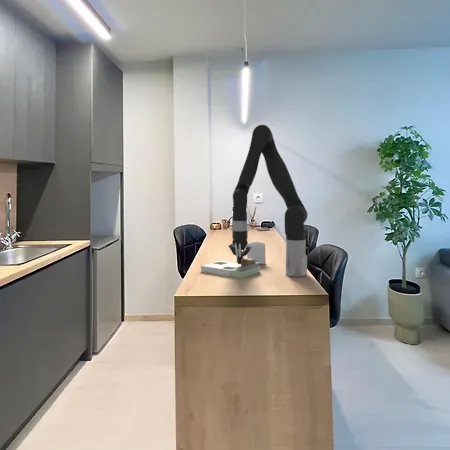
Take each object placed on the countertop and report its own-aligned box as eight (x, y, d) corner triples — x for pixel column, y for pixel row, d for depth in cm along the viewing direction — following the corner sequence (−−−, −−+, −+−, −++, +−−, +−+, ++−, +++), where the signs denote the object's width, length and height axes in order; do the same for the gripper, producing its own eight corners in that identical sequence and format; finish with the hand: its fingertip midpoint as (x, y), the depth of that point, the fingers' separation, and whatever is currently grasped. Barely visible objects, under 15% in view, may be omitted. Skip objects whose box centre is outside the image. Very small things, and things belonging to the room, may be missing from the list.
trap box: (259, 272, 188) (259, 262, 188) (241, 278, 176) (241, 267, 175) (220, 266, 203) (220, 257, 203) (201, 271, 191) (200, 261, 190)
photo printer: (247, 264, 207) (247, 242, 206) (246, 263, 211) (246, 241, 210) (266, 264, 208) (266, 242, 207) (264, 262, 212) (264, 241, 211)
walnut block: (255, 266, 187) (255, 258, 186) (249, 268, 183) (249, 260, 182) (246, 265, 190) (246, 257, 189) (240, 267, 186) (240, 259, 185)
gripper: (255, 229, 186) (255, 264, 188) (233, 228, 194) (233, 261, 196) (246, 231, 180) (246, 266, 182) (224, 229, 188) (225, 263, 190)
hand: (240, 264), depth 189 cm, fingers closed
